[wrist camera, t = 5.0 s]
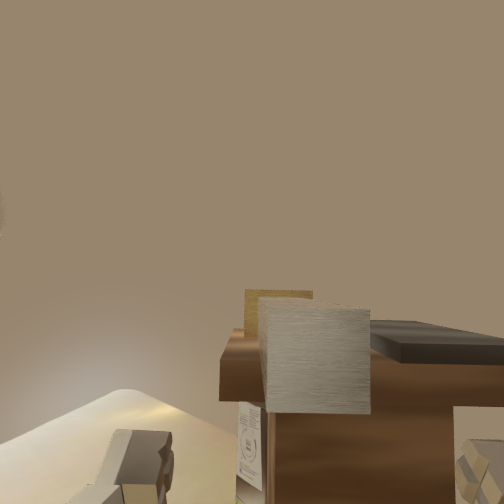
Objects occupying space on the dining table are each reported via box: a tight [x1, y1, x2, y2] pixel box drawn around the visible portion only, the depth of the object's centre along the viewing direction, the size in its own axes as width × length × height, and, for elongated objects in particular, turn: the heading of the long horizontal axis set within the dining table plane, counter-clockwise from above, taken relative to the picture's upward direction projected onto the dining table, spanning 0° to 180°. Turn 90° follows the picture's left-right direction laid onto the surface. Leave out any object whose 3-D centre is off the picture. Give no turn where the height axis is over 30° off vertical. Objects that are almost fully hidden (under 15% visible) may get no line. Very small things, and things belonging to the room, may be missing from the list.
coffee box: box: [235, 402, 268, 504], centre depth 46 cm, size 9×6×16 cm
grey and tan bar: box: [244, 289, 371, 414], centre depth 24 cm, size 24×5×4 cm, turn 0°
